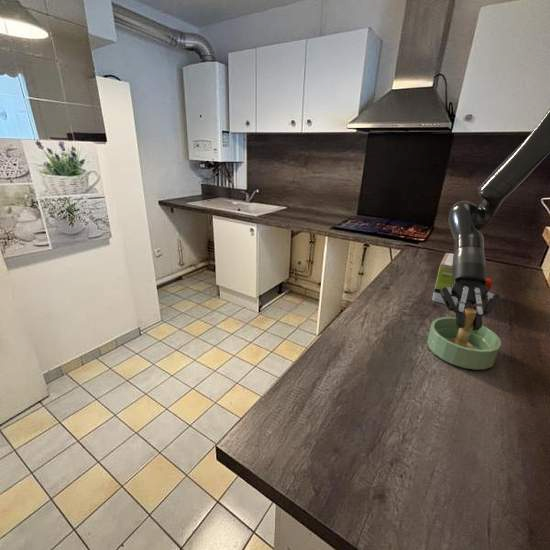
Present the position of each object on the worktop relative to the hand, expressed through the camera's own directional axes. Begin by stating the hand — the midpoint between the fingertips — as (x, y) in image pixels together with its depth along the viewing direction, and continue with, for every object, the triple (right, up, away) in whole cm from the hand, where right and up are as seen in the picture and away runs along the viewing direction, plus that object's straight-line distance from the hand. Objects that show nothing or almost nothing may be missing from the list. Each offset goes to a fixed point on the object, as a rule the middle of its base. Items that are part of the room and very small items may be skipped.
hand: (468, 328), depth 73 cm
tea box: (+16, +5, +35) cm, 38 cm away
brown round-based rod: (+1, -7, +5) cm, 8 cm away
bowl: (+1, -7, +5) cm, 9 cm away
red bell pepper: (+27, +6, +36) cm, 45 cm away
